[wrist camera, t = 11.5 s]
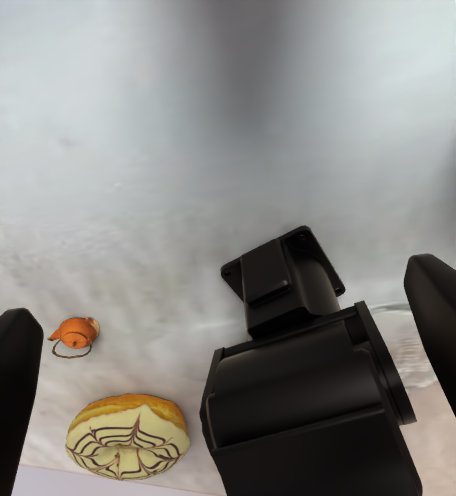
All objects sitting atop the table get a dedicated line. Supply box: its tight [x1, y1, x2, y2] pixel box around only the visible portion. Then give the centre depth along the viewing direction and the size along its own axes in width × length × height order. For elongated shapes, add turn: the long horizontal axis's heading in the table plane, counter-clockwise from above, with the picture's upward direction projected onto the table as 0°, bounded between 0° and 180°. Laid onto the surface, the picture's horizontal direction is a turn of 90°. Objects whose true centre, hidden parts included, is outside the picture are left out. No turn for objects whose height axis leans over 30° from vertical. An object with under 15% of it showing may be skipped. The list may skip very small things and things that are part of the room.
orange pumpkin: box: [48, 318, 99, 359], centre depth 28 cm, size 3×3×3 cm
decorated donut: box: [65, 394, 190, 480], centre depth 35 cm, size 10×11×4 cm
